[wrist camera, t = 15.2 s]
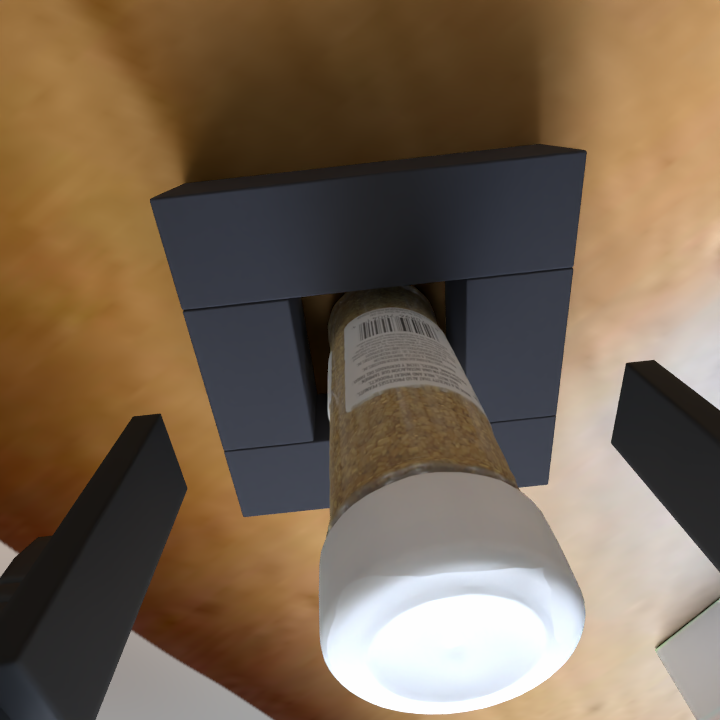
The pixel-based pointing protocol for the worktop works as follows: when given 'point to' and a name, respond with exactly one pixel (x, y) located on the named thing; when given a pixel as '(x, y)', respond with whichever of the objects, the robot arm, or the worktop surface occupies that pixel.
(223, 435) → the dark grey square frame
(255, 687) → the worktop surface
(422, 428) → the sprinkles bottle
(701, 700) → the green board game box
